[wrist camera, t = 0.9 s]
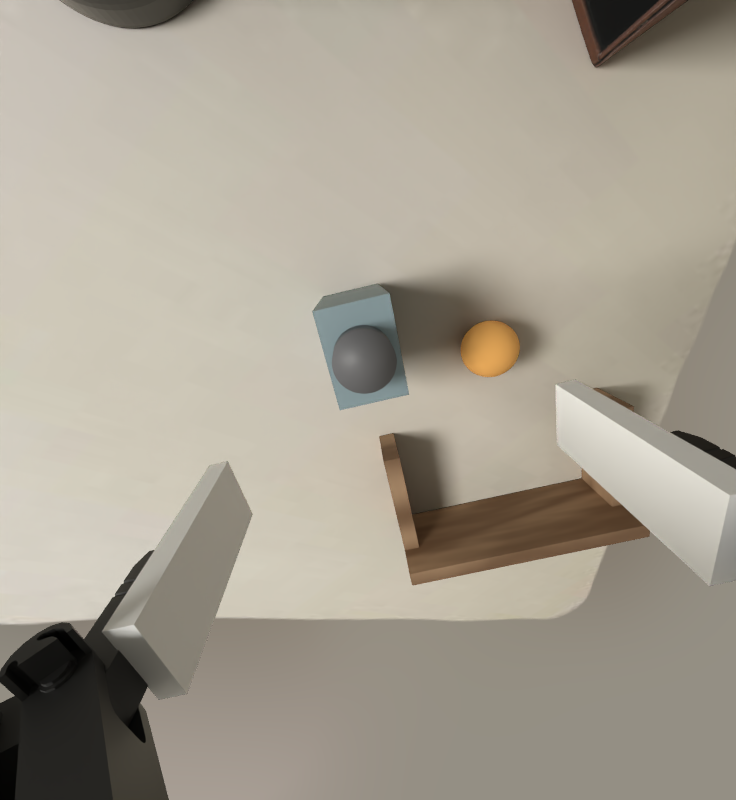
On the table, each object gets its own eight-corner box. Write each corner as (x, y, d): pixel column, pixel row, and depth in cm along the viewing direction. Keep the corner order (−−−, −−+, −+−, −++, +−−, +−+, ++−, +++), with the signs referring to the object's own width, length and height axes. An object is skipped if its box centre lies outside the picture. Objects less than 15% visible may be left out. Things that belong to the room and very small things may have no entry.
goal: (379, 436, 37) (386, 480, 29) (597, 387, 36) (661, 420, 29) (401, 527, 41) (412, 585, 34) (594, 486, 41) (649, 536, 33)
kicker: (323, 296, 31) (309, 316, 20) (377, 283, 31) (393, 296, 20) (342, 369, 34) (339, 422, 23) (392, 357, 34) (413, 405, 23)
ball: (450, 323, 33) (467, 333, 28) (503, 311, 33) (529, 319, 28) (457, 372, 35) (474, 390, 30) (507, 361, 34) (531, 377, 30)
